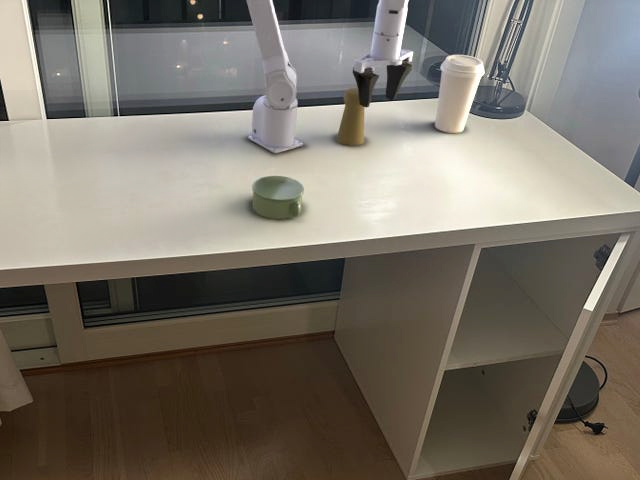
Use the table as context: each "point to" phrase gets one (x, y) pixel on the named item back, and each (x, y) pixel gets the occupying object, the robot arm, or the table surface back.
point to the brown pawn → (352, 120)
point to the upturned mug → (277, 197)
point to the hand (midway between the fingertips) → (377, 102)
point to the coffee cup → (457, 91)
